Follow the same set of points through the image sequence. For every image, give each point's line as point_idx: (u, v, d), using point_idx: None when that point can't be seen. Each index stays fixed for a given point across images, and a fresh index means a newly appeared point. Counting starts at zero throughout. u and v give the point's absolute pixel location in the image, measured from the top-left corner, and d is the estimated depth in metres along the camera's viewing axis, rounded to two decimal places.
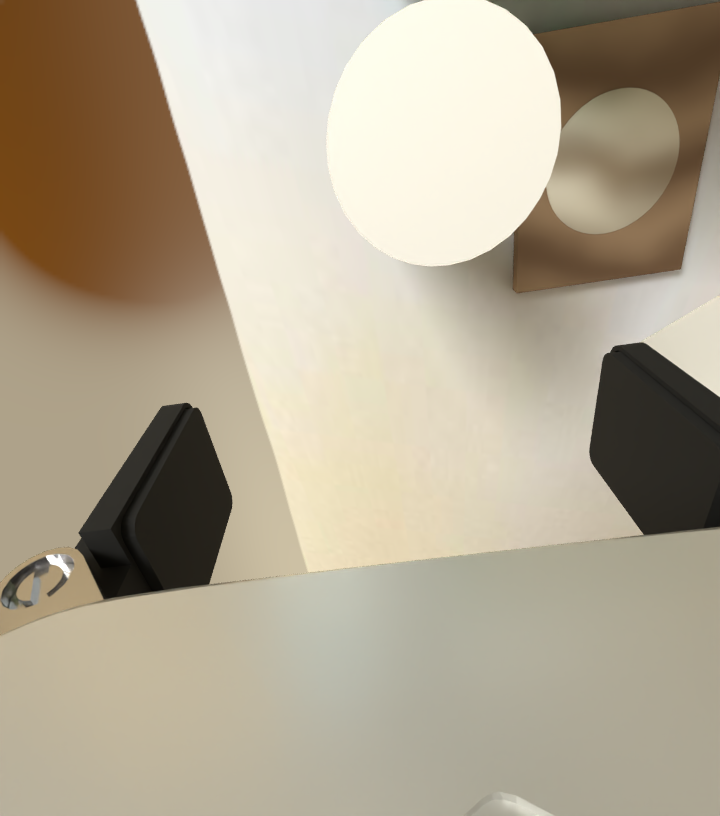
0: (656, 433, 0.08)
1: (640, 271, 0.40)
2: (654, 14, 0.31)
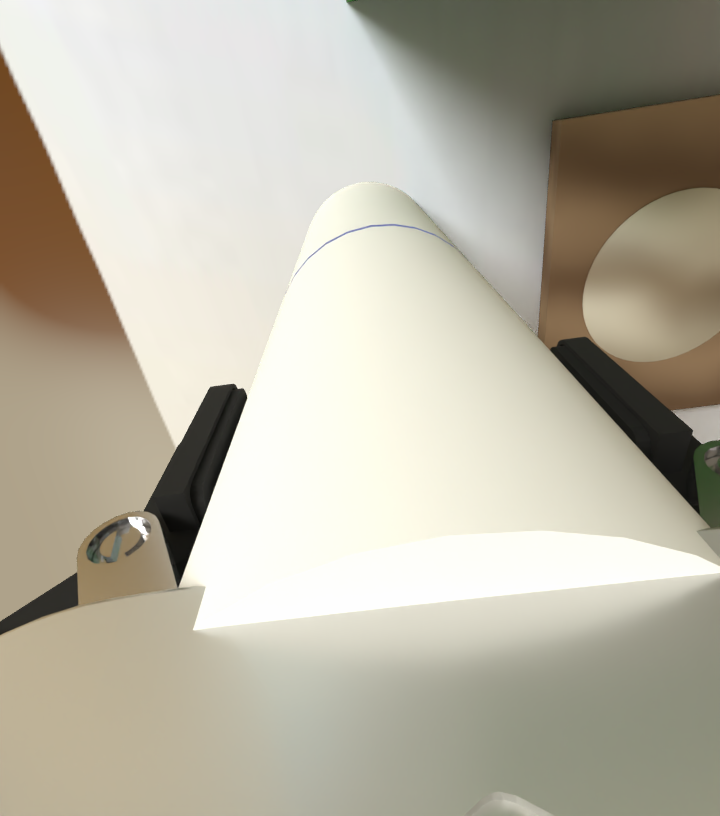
0: None
1: (697, 402, 0.31)
2: None
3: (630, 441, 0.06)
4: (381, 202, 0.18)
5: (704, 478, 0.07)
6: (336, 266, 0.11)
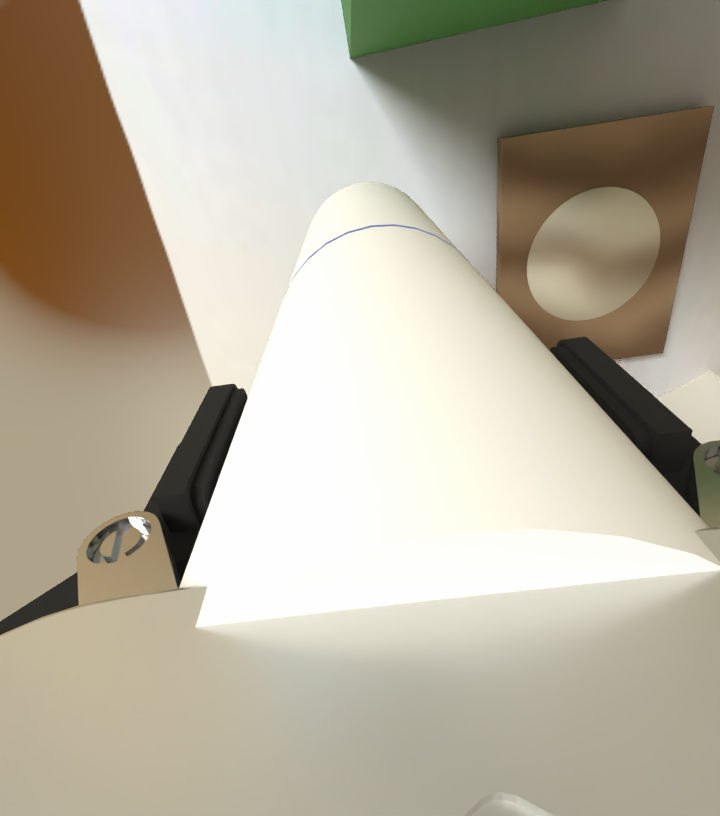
0: None
1: (622, 354, 0.40)
2: (633, 119, 0.31)
3: (629, 441, 0.06)
4: (381, 202, 0.18)
5: (704, 478, 0.07)
6: (336, 266, 0.11)
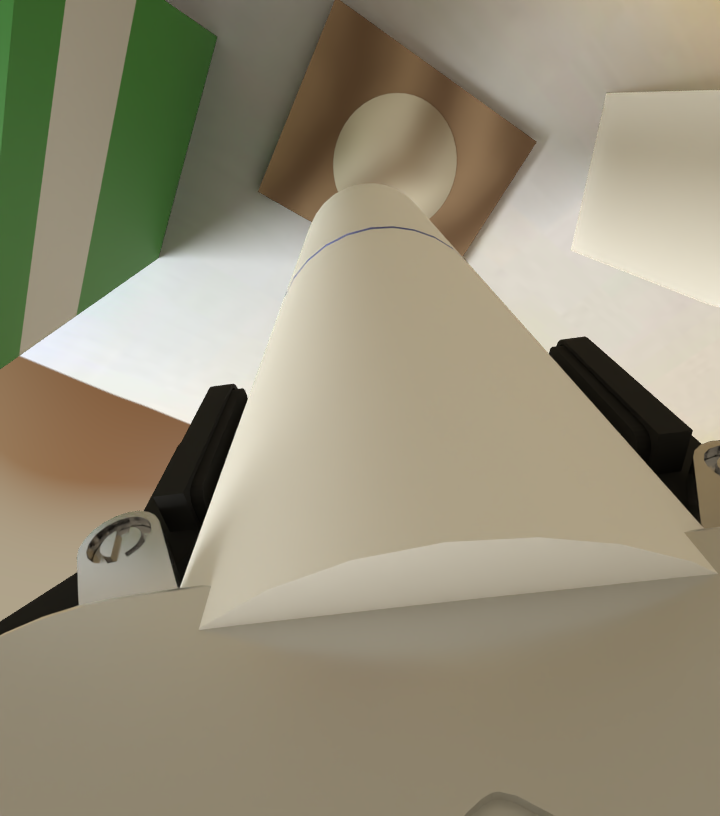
0: None
1: (506, 181, 0.38)
2: (304, 78, 0.35)
3: (628, 445, 0.06)
4: (380, 204, 0.18)
5: (704, 478, 0.07)
6: (335, 269, 0.11)
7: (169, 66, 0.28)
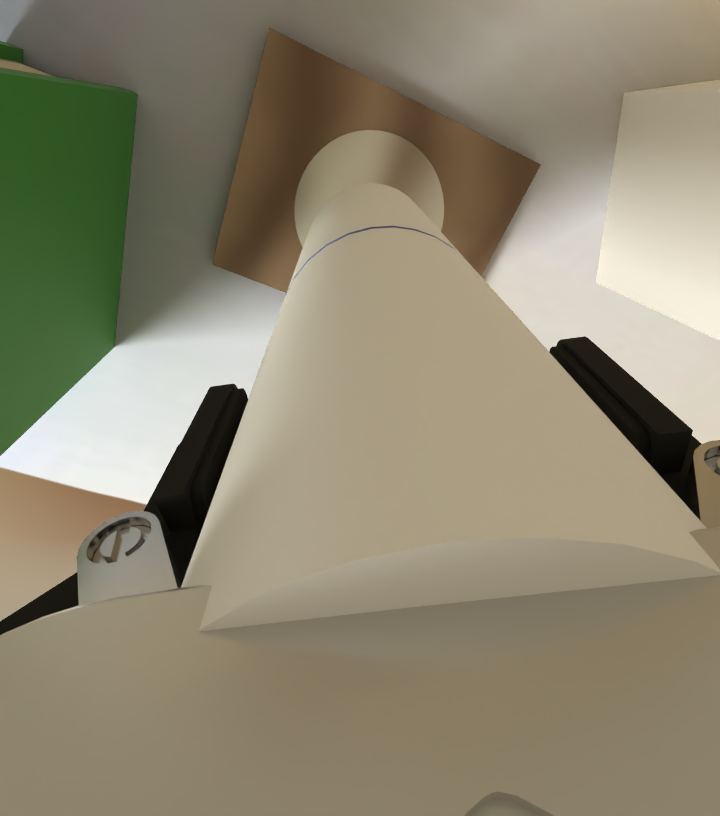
0: None
1: (508, 215, 0.31)
2: (246, 129, 0.28)
3: (630, 445, 0.06)
4: (381, 203, 0.18)
5: (704, 478, 0.07)
6: (336, 268, 0.11)
7: (63, 150, 0.22)
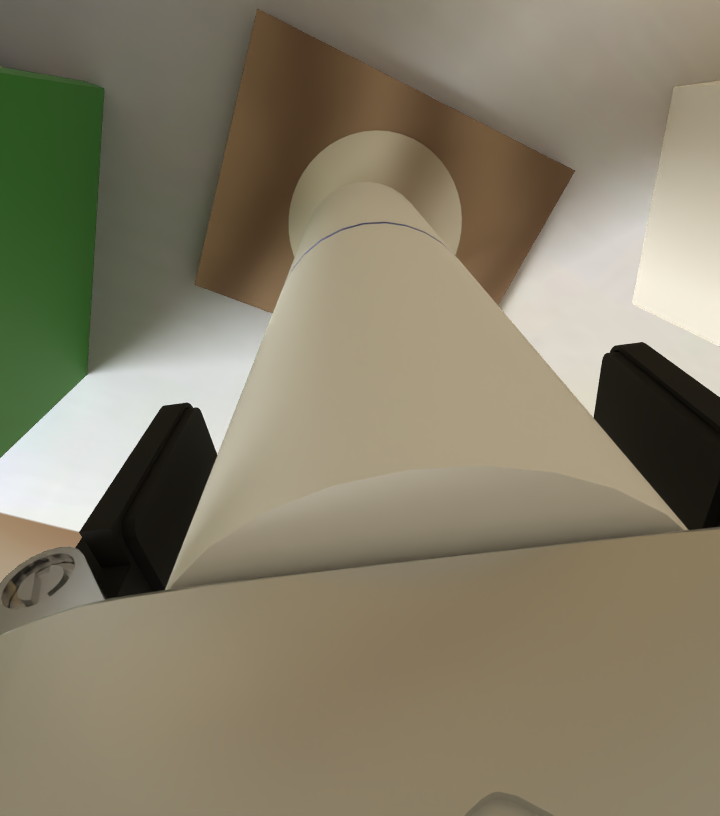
0: (655, 433, 0.08)
1: (535, 229, 0.27)
2: (231, 130, 0.24)
3: (584, 411, 0.07)
4: (375, 201, 0.19)
5: None
6: (329, 260, 0.12)
7: (2, 155, 0.18)
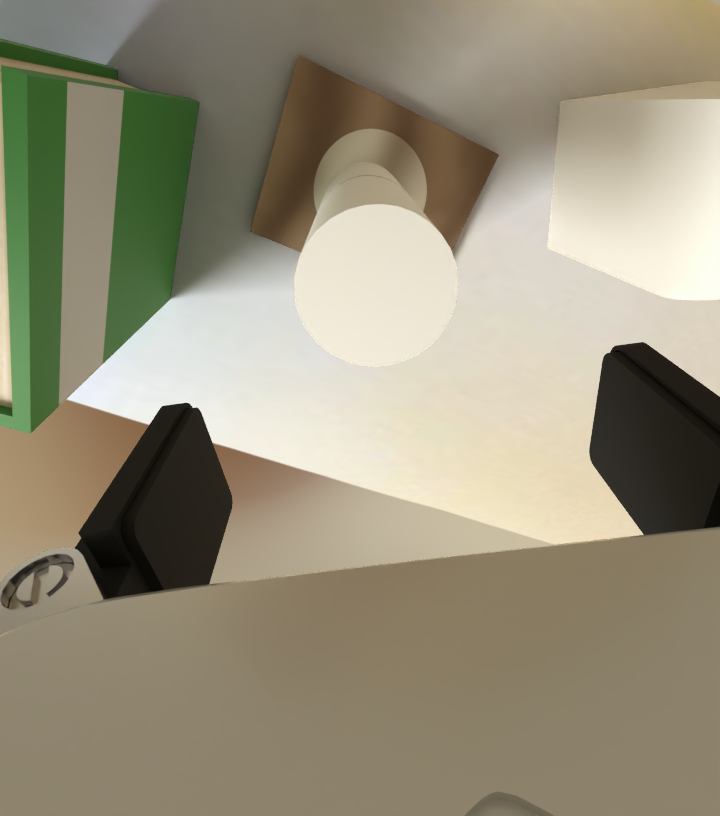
0: (656, 433, 0.08)
1: (475, 194, 0.41)
2: (279, 128, 0.38)
3: (427, 217, 0.21)
4: (367, 169, 0.33)
5: None
6: (343, 187, 0.26)
7: (158, 142, 0.32)
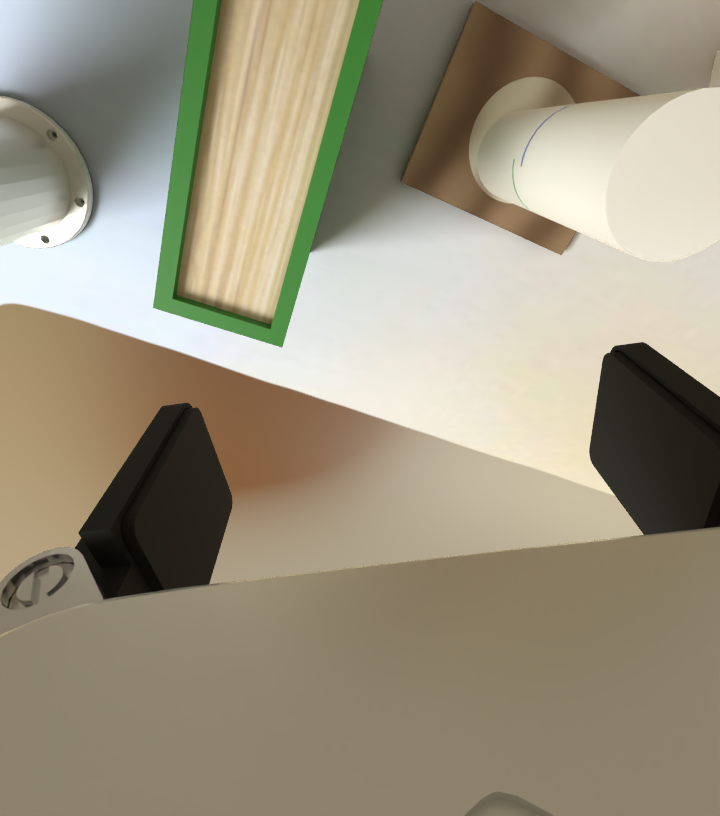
0: (656, 433, 0.08)
1: None
2: (445, 76, 0.40)
3: None
4: None
5: None
6: (586, 106, 0.27)
7: None
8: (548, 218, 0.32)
